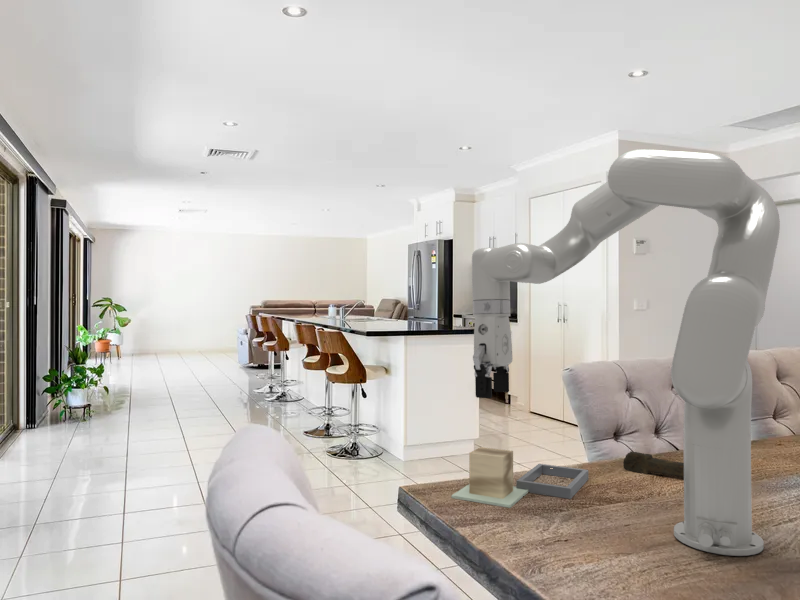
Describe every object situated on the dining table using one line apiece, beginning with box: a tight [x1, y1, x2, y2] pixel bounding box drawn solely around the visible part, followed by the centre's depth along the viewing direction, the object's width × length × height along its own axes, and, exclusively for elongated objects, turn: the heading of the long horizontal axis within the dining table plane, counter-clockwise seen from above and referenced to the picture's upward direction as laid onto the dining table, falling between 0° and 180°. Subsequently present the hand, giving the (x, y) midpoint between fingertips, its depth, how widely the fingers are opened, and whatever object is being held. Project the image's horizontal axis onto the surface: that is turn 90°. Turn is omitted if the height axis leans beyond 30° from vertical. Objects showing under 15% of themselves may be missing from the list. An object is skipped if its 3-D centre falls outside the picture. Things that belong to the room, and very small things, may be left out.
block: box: [468, 446, 514, 499], centre depth 118 cm, size 6×7×8 cm
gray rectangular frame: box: [515, 463, 589, 500], centre depth 125 cm, size 16×11×2 cm
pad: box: [451, 484, 528, 509], centre depth 118 cm, size 12×12×1 cm
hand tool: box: [622, 451, 684, 479], centre depth 132 cm, size 19×4×5 cm, turn 51°
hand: (492, 394), depth 118 cm, fingers open, 9 cm apart
